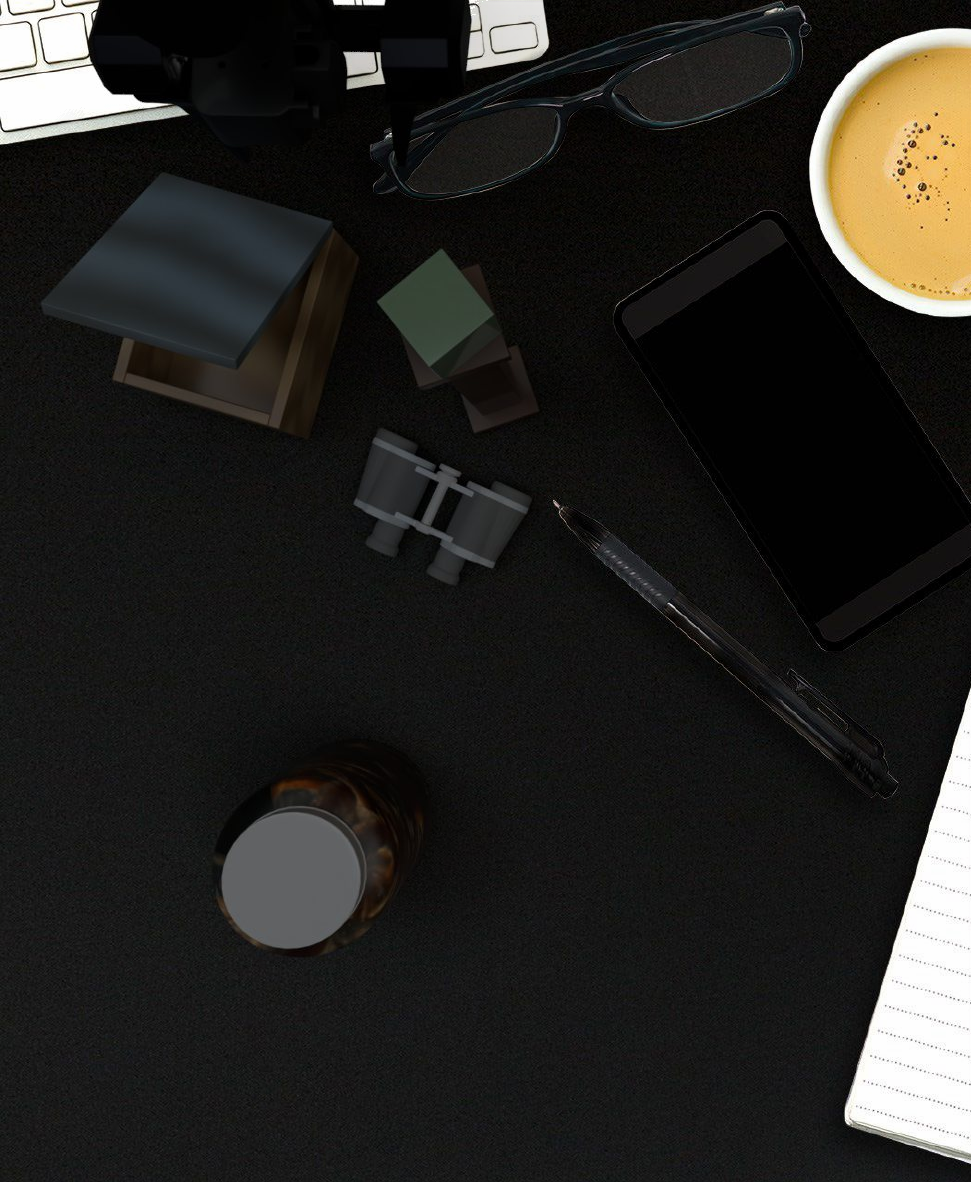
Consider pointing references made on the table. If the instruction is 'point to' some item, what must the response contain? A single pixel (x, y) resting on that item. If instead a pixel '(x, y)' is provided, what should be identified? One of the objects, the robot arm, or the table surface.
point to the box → (261, 355)
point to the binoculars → (435, 507)
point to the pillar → (485, 375)
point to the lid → (191, 270)
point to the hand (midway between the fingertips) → (324, 160)
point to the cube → (441, 315)
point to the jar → (322, 848)
